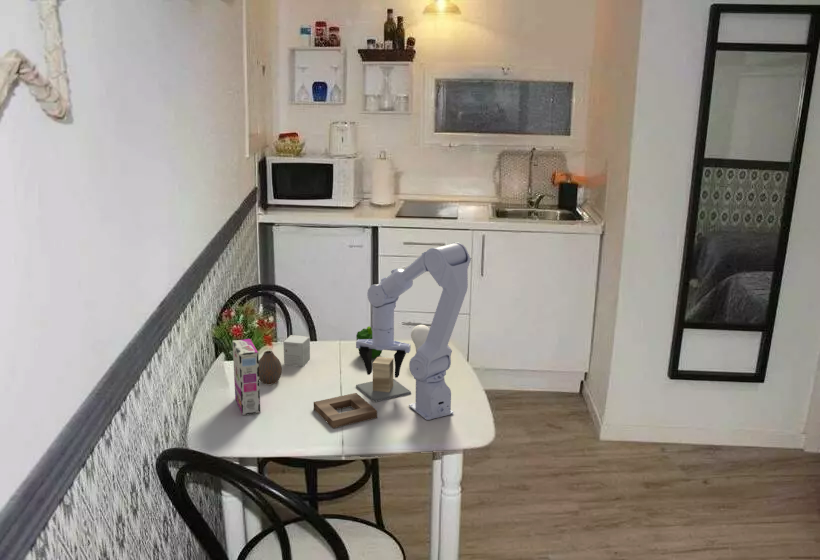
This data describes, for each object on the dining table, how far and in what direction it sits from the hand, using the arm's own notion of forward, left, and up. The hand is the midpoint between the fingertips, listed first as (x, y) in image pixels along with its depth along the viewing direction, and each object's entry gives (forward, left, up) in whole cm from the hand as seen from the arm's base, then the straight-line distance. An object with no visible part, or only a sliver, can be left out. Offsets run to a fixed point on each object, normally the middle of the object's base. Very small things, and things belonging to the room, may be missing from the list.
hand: (383, 374), depth 202 cm
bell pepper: (+24, -8, -5) cm, 26 cm away
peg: (0, 0, -4) cm, 4 cm away
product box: (+30, +13, -5) cm, 33 cm away
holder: (-8, +15, -4) cm, 18 cm away
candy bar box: (+8, +35, -5) cm, 36 cm away
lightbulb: (+14, -20, -5) cm, 25 cm away
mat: (0, 0, -4) cm, 4 cm away
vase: (+20, +25, -5) cm, 32 cm away
